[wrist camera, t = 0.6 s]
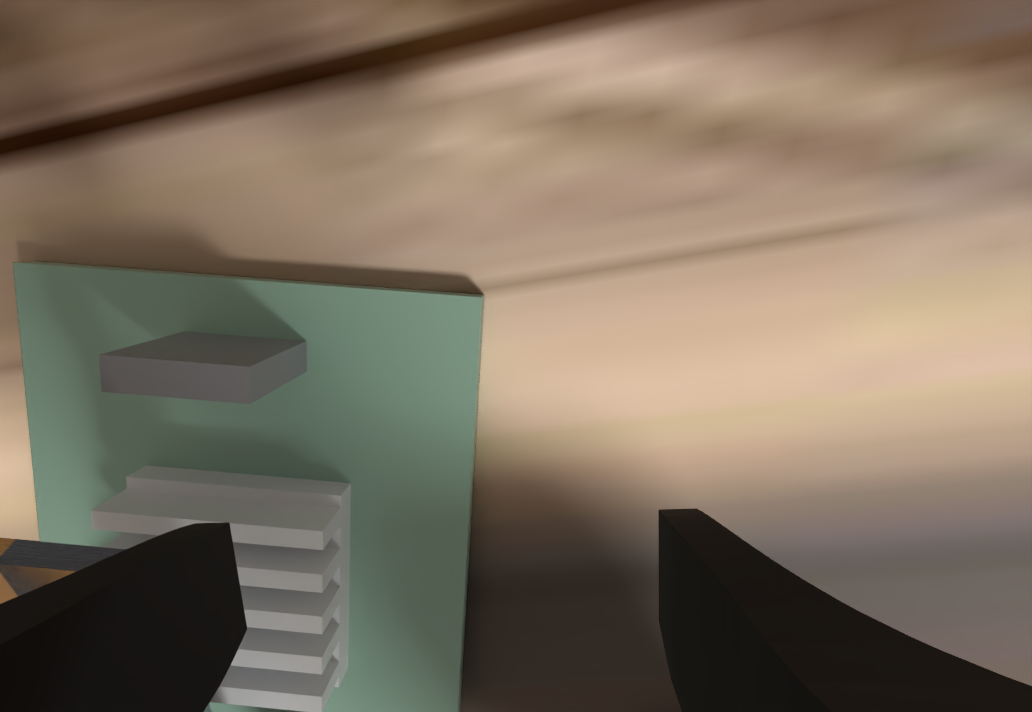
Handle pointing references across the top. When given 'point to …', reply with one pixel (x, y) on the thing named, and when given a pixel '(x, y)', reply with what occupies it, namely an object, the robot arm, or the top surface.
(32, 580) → the brown and grey bar
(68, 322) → the heatsink board
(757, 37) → the top surface
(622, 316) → the top surface
